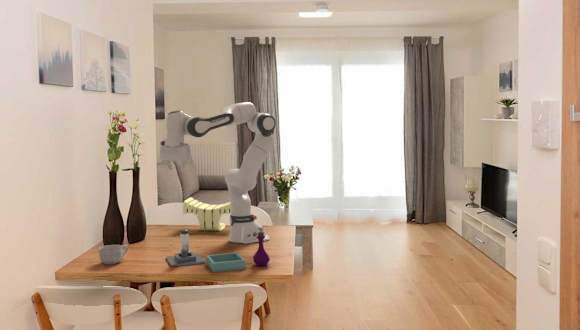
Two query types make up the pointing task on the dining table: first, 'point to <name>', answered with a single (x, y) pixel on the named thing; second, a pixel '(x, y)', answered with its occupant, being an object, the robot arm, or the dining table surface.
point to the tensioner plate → (185, 259)
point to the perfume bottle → (261, 251)
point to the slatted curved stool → (207, 213)
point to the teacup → (112, 253)
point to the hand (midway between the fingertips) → (175, 169)
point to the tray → (225, 262)
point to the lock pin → (184, 242)
